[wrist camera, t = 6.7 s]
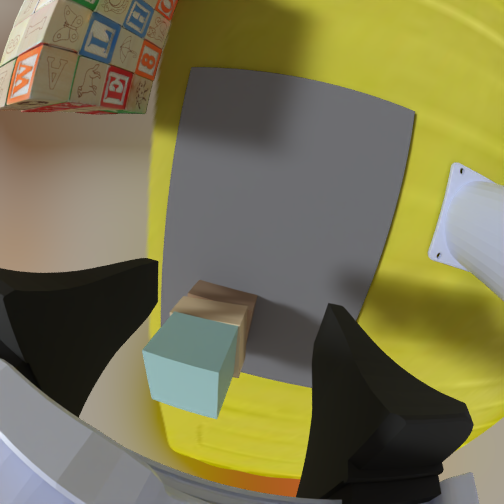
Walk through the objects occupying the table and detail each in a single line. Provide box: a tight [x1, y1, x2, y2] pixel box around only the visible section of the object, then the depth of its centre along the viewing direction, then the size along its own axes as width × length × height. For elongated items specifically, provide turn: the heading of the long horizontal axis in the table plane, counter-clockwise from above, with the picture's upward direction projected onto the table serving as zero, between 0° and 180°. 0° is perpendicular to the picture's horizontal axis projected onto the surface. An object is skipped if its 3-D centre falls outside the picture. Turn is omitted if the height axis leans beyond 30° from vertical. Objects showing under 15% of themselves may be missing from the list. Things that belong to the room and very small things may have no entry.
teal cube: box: [142, 311, 238, 419], centre depth 16 cm, size 4×4×4 cm
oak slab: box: [170, 296, 248, 378], centre depth 19 cm, size 5×5×2 cm
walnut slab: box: [187, 280, 258, 343], centre depth 22 cm, size 5×5×2 cm
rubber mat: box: [161, 67, 415, 388], centre depth 20 cm, size 17×26×1 cm, turn 169°
